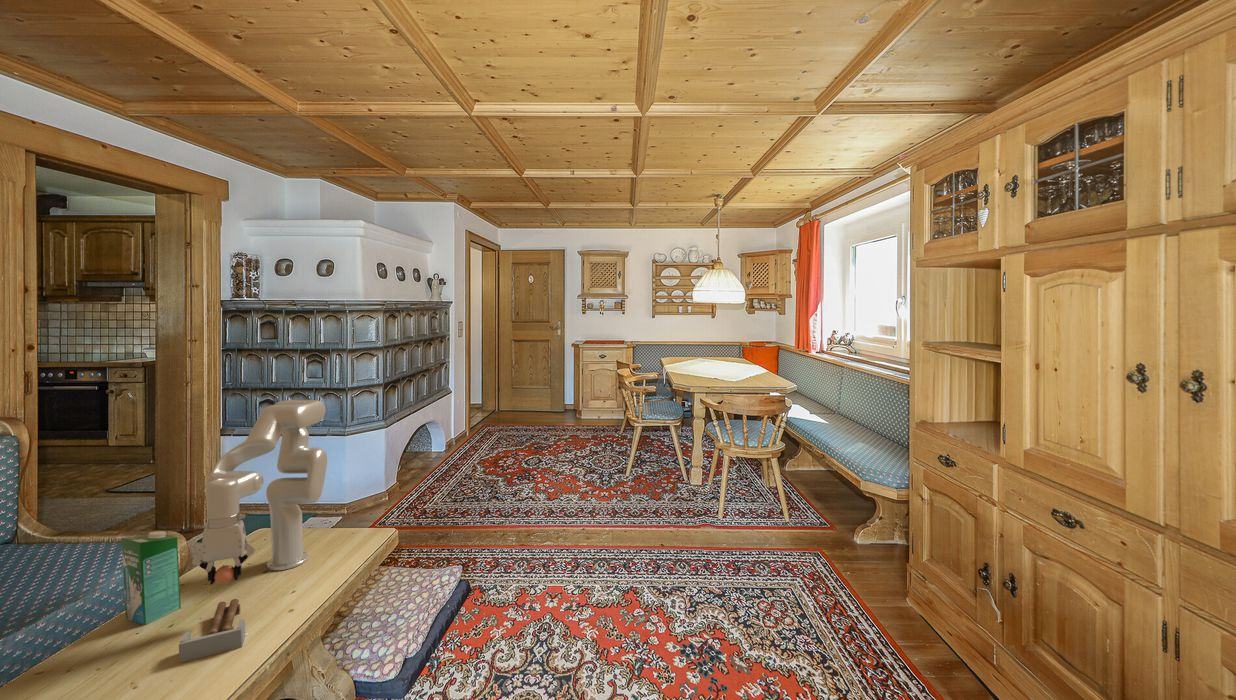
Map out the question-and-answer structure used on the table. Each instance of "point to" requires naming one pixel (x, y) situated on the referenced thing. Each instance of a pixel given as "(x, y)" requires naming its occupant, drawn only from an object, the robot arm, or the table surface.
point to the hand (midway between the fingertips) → (225, 579)
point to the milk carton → (150, 576)
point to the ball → (224, 574)
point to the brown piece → (224, 612)
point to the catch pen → (211, 643)
